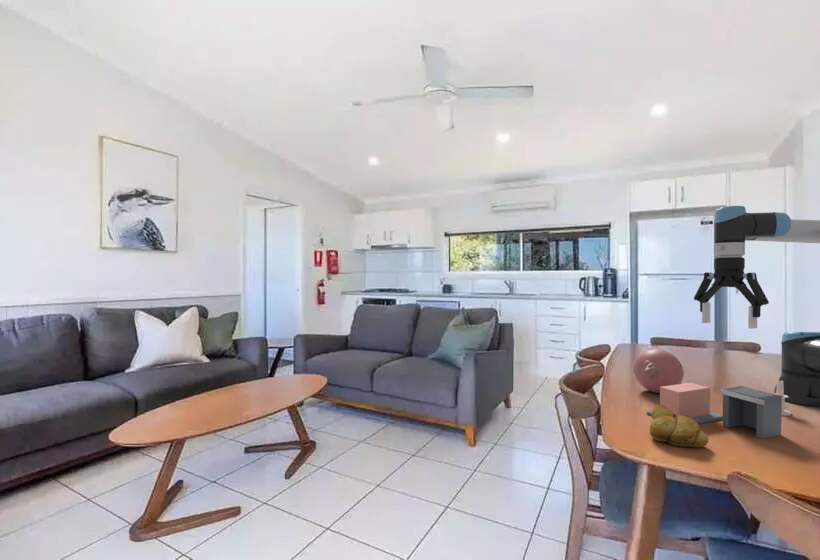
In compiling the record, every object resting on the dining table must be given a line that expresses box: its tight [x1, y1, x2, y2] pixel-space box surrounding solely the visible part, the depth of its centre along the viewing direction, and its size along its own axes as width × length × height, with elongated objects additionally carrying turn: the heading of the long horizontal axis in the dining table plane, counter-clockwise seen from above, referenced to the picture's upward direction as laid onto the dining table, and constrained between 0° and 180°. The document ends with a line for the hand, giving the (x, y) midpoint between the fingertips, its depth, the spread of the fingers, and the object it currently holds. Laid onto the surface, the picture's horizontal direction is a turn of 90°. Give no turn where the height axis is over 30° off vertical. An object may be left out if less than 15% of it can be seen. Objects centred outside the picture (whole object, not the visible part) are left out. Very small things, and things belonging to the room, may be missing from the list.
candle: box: [776, 380, 792, 417], centre depth 128 cm, size 5×5×10 cm
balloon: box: [633, 348, 685, 394], centre depth 148 cm, size 15×20×15 cm
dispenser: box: [719, 385, 783, 440], centre depth 114 cm, size 8×10×10 cm
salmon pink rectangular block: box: [659, 382, 711, 418], centre depth 125 cm, size 13×6×8 cm, turn 110°
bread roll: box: [649, 404, 709, 448], centre depth 107 cm, size 13×10×8 cm
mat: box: [646, 409, 723, 425], centre depth 125 cm, size 18×11×1 cm, turn 110°
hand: (728, 325), depth 129 cm, fingers open, 13 cm apart
